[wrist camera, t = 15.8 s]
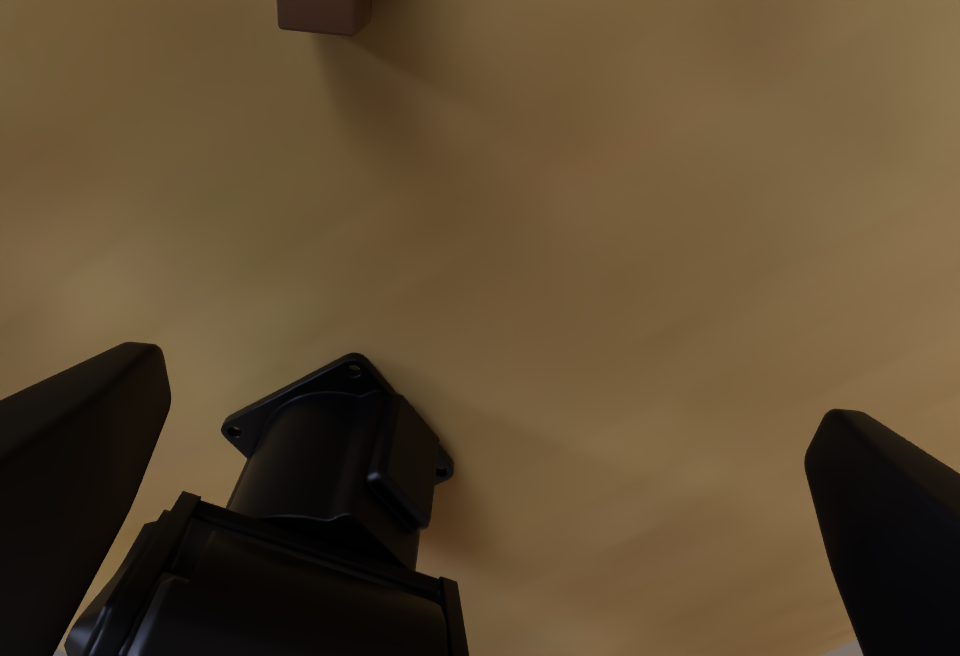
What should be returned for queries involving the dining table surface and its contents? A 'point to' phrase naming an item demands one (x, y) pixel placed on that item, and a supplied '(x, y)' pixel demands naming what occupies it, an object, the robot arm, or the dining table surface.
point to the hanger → (324, 16)
